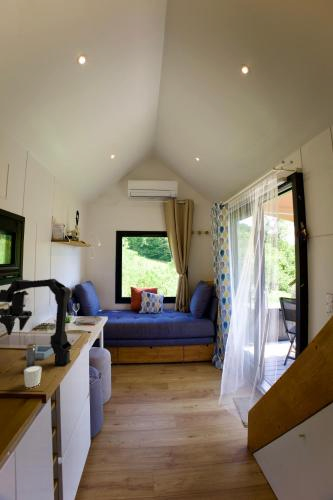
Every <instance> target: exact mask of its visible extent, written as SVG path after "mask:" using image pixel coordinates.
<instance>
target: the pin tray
mask: <svg viewBox="0 0 333 500" xmlns="http://www.w3.org/2000/svg"><path fill="white" fill-rule="evenodd" d="M53 355H55V354H54V351H53V349H52V348H51V345H36V347H35V360H42V361H44V360H46V359H48V358H49V357H51V356H53ZM25 359H26V360H27V351H25Z"/></svg>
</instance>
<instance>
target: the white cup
mask: <svg viewBox="0 0 333 500" xmlns="http://www.w3.org/2000/svg"><path fill="white" fill-rule="evenodd" d="M25 368H26V367H25ZM25 368H24V369H25ZM24 369H23V374H24V375H23V377H24V387H25V386H26V387H33V386H36V385H38V384H39V383H40V384H41V376H42V371H43V370H42V369H43V367H42V366H41V365H35V366H32V367H28V368H26V369H25V370H24ZM40 384H39V385H40Z"/></svg>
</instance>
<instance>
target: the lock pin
mask: <svg viewBox="0 0 333 500" xmlns="http://www.w3.org/2000/svg"><path fill="white" fill-rule="evenodd" d="M25 345H26V347H25V348H26V352H27V359H26V367H25V368H23V371H24V370H25V369H26V368H28V367H32V366H36V359H35V347H36V346H37V344H36V343H35V342H34V343H27V344H25Z"/></svg>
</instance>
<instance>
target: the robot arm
mask: <svg viewBox="0 0 333 500" xmlns="http://www.w3.org/2000/svg"><path fill="white" fill-rule="evenodd" d="M42 287H43V288H44V287H46V288H47V287H48V288H49V289H50V292H51V293H52V294H53V295H54V299H55V303H56V304H57V305H56V315H55V317H56V319H55V329H54V330H55V331H54V334H52V335H50V342H49V345H50V346H51V348H52V349H53V351H54V354H53V355H54V363H53V366H56V367H57V366H59V367H66V366H68V365H69V364H70V363H71V362H72V360H71V359H70V356H71V351H70V350H71V349H72V347H73V346H72V343H70V342H69V340H68V334H67V332H66V321H67V308H68V307H67V306H68V303H69V301H70V299H71V295H72V290H71V288H70V287H67V286H65V285H64V284H63V283H61V282H60V281H58V280H57V279H56V278H48V279H41V280H40V279H39V280H28V279H16V280H13V281H12V282H11V284H10V286H9V287H8V288H7V289H0V303H5V304H6V303H9V304H11V305H9V306H8V308H4V307H2V308H0V324H1V325H2V324H3V325H4V327H5V329H6V333H7V335H8V336H11V335H12V332H13V329H14V326H15V323H16V319H18V320H19V321H18V322H19V324H18V325H19V331H20V332H21V331H23V329H24V327H25V326H26V324H27V323H28V321H29V319H31V317H32V316H33V311H31V310H24V308H25V307H26V304H25V296H28V295H29V293H28V292H27V290H28V289H32V288H33V289H34V288H42Z"/></svg>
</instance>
